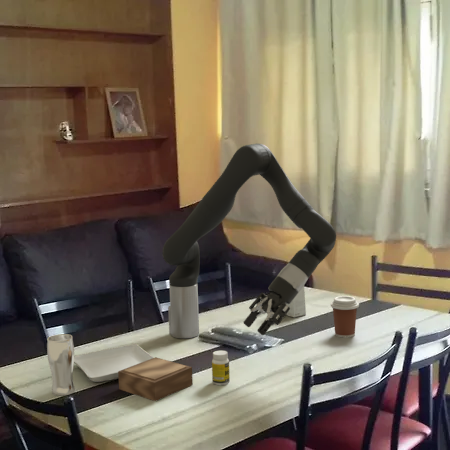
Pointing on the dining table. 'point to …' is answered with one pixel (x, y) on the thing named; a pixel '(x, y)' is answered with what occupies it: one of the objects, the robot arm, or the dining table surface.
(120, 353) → the salad plate
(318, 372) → the dining table surface
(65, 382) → the beer glass
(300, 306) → the skincare box
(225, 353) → the supplement bottle
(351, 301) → the coffee cup
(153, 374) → the pedestal
